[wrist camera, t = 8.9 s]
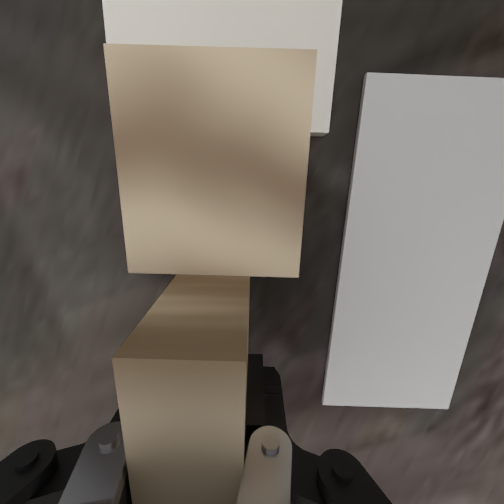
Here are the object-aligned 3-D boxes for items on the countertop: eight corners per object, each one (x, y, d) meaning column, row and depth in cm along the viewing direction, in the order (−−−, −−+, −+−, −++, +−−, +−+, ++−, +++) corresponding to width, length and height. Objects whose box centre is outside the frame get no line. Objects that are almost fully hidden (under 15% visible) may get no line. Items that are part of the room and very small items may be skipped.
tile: (319, 138, 17) (338, -63, 14) (328, 133, 15) (352, -103, 12) (131, 131, 17) (114, -72, 14) (114, 124, 15) (91, -114, 12)
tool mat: (536, 82, 15) (544, 79, 15) (444, 404, 21) (448, 408, 21) (364, 75, 15) (367, 72, 15) (321, 400, 21) (322, 405, 21)
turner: (280, 470, 15) (296, 654, 9) (156, 466, 15) (95, 648, 9) (312, 59, 9) (402, -122, 4) (115, 53, 9) (-101, -135, 4)
